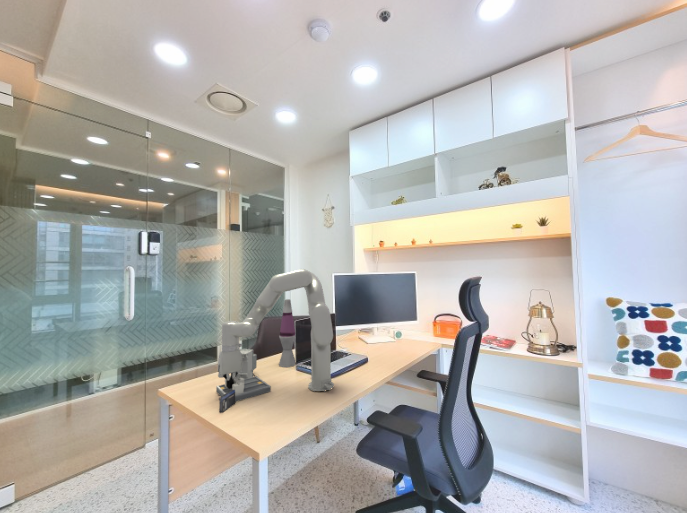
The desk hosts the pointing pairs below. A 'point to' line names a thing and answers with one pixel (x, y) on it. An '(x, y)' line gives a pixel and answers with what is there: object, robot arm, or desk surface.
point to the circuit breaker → (247, 363)
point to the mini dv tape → (226, 401)
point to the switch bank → (247, 388)
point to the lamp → (287, 335)
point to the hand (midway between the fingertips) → (230, 387)
